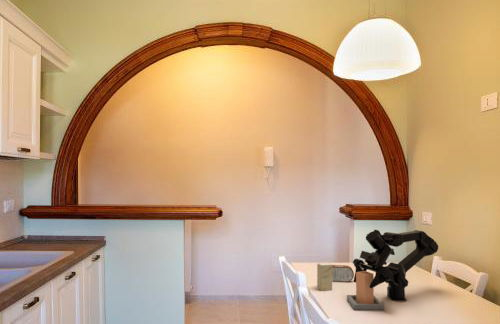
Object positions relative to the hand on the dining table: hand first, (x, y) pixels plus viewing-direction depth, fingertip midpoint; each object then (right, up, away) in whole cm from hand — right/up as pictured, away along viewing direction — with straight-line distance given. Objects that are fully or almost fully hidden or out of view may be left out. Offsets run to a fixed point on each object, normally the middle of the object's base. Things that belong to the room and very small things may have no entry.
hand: (362, 284), depth 149 cm
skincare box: (-11, -10, +21) cm, 26 cm away
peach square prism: (+1, -8, 0) cm, 8 cm away
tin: (-1, -11, +34) cm, 36 cm away
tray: (+1, -9, 0) cm, 9 cm away
